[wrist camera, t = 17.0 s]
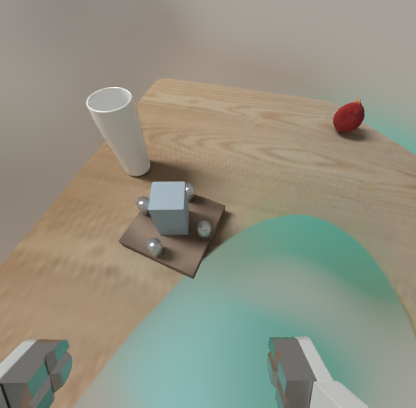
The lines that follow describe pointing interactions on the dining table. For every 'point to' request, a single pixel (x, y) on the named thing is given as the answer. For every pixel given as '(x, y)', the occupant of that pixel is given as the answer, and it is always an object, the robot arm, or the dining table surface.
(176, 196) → the block
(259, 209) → the dining table surface
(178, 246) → the peg board
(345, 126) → the onion
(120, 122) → the drinking glass
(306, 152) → the dining table surface
